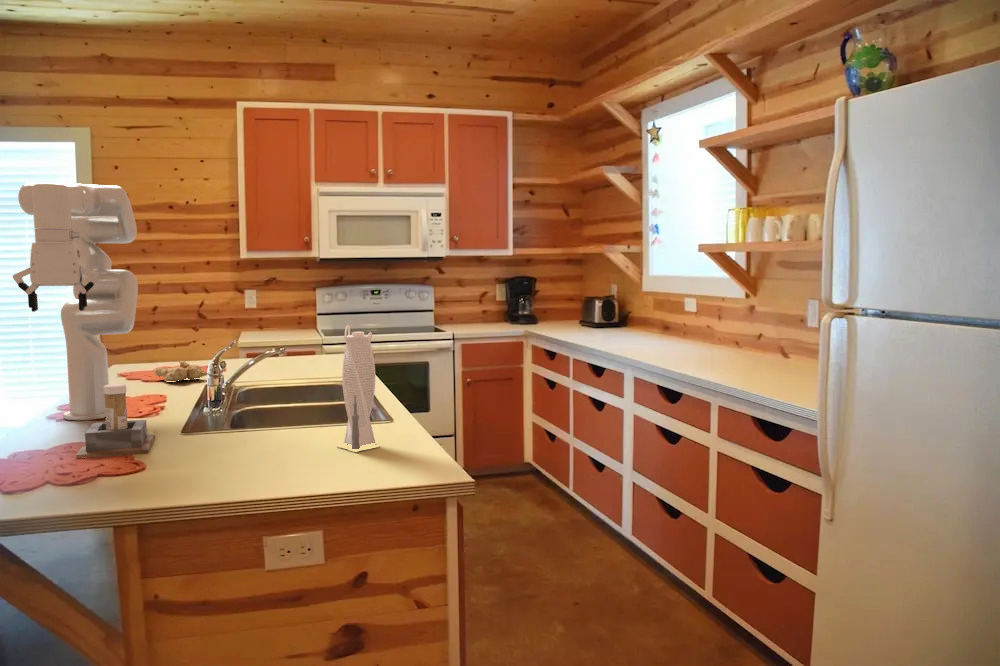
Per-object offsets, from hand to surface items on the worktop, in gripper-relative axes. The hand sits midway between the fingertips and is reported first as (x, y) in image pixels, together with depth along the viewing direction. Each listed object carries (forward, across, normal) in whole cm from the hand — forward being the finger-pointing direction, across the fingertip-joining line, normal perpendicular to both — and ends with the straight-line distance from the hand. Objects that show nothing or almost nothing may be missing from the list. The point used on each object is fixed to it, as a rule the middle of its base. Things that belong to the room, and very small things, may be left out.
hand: (58, 310), depth 175 cm
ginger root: (+34, -24, -78) cm, 88 cm away
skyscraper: (+30, -64, +33) cm, 78 cm away
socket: (+31, -12, +15) cm, 36 cm away
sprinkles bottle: (+29, -12, +15) cm, 35 cm away
